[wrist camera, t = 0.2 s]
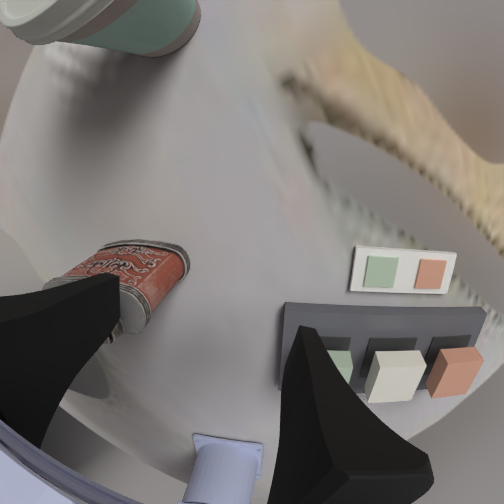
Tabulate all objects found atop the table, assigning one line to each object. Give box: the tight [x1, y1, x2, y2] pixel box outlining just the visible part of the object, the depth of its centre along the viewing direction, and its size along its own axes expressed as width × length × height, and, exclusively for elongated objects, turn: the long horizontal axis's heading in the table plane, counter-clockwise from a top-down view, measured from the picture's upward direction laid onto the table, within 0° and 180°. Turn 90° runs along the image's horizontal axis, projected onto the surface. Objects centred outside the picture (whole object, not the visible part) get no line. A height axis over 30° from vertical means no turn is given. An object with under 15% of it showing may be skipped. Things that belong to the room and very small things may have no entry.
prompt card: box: [349, 246, 457, 294], centre depth 19 cm, size 3×8×1 cm, turn 90°
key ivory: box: [364, 350, 427, 403], centre depth 19 cm, size 4×4×2 cm
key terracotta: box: [426, 347, 484, 398], centre depth 18 cm, size 4×4×2 cm
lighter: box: [43, 239, 190, 345], centre depth 18 cm, size 8×3×10 cm, turn 91°
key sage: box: [327, 350, 353, 384], centre depth 19 cm, size 4×4×2 cm
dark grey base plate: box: [278, 302, 487, 393], centre depth 21 cm, size 8×17×1 cm, turn 89°
